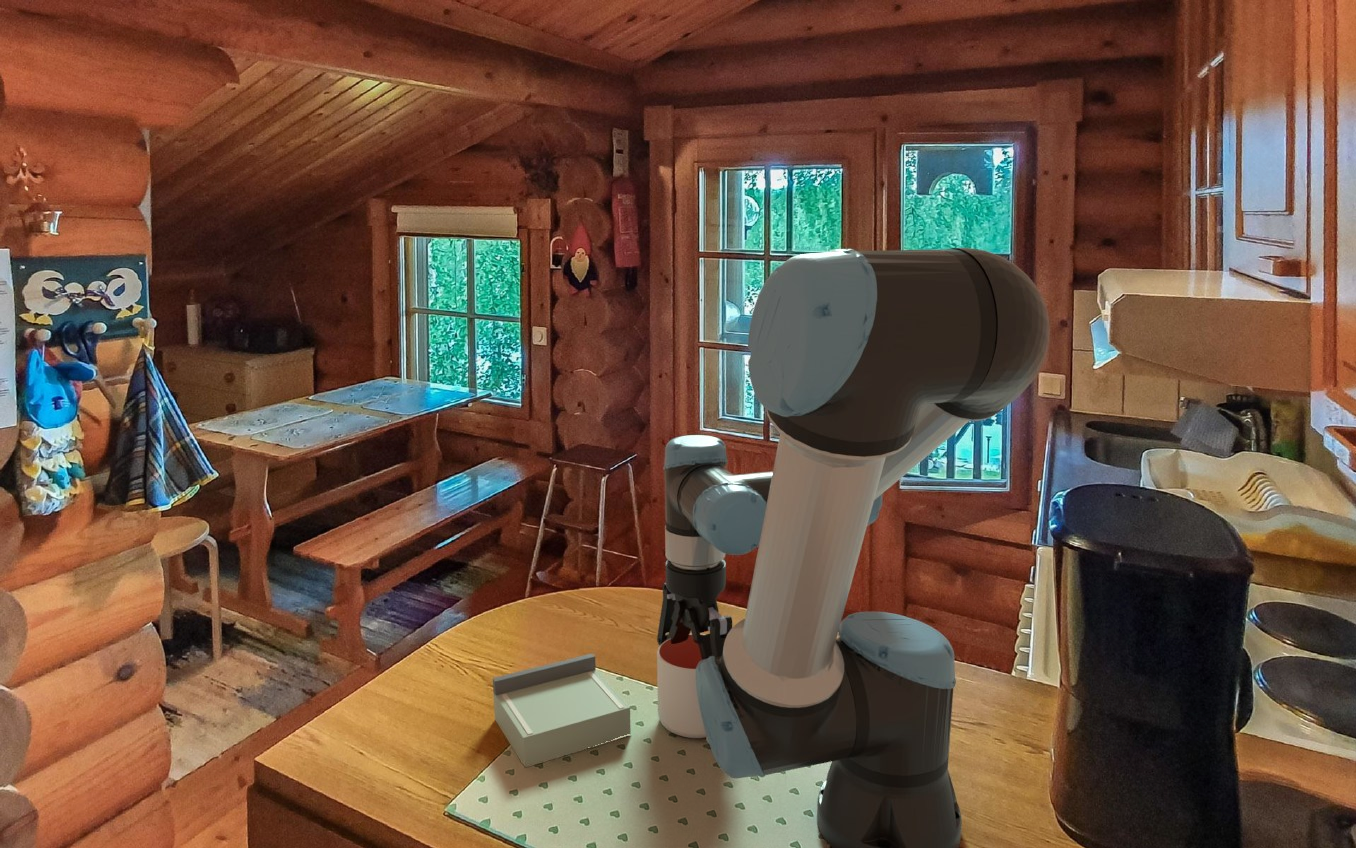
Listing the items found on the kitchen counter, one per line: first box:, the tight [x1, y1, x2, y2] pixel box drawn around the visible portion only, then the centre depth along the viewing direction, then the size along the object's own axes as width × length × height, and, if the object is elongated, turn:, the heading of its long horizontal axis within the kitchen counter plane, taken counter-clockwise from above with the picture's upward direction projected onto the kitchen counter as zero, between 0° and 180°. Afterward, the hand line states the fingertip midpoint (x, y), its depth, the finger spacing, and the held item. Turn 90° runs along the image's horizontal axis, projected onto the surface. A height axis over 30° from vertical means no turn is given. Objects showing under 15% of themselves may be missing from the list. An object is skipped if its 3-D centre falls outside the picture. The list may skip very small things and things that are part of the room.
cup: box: [656, 633, 706, 739], centre depth 117 cm, size 10×10×10 cm
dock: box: [492, 653, 632, 768], centre depth 116 cm, size 12×14×6 cm
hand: (696, 719), depth 118 cm, fingers closed on cup, 10 cm apart
